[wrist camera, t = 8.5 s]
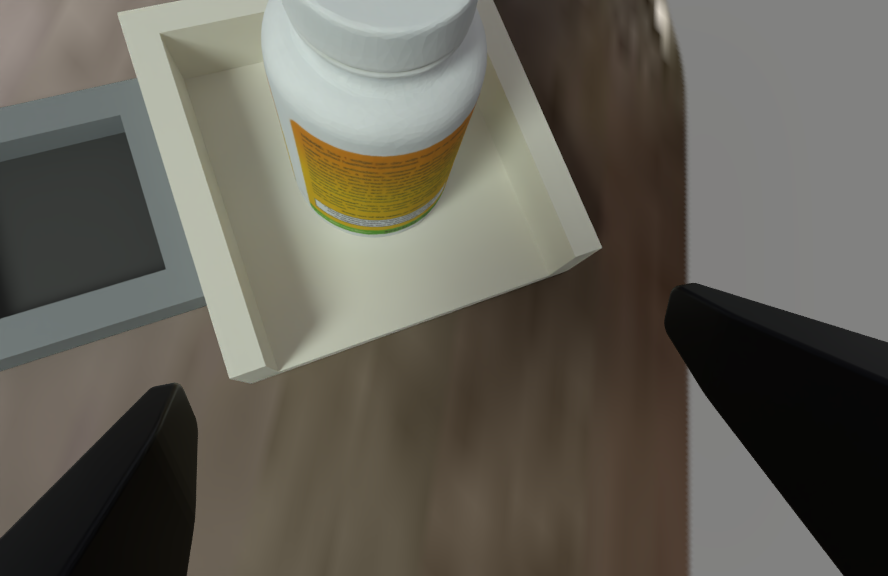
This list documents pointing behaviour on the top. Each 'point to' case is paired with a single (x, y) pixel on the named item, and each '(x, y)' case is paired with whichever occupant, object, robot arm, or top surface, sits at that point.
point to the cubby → (308, 236)
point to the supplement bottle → (373, 102)
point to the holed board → (86, 224)
